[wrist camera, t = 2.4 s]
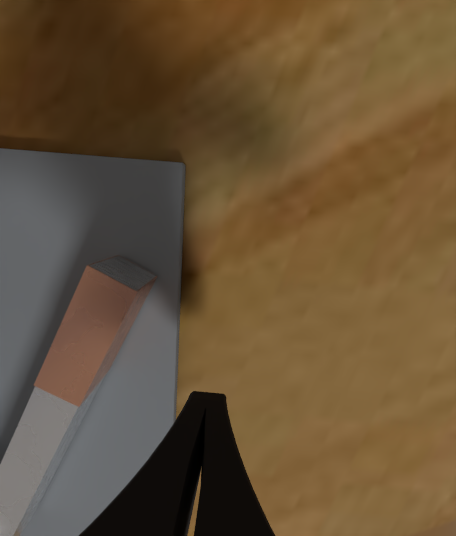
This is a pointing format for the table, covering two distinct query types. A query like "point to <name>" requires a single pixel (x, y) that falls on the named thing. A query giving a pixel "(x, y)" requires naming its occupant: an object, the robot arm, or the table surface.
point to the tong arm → (69, 382)
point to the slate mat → (57, 302)
